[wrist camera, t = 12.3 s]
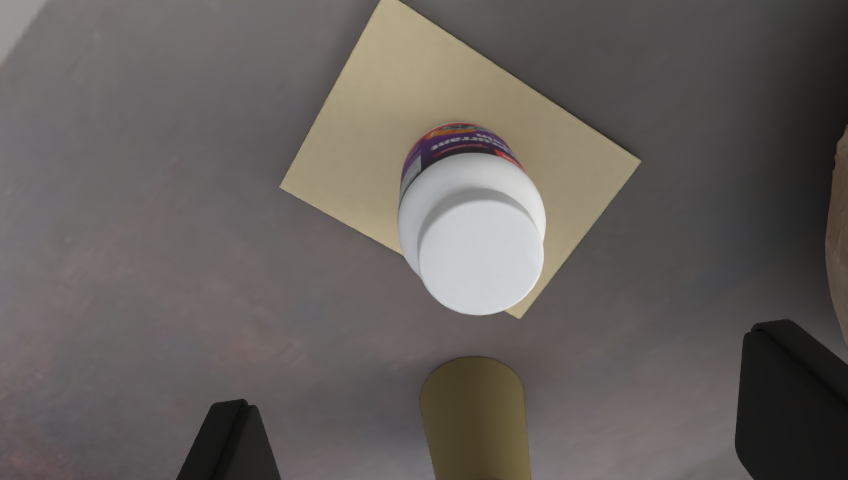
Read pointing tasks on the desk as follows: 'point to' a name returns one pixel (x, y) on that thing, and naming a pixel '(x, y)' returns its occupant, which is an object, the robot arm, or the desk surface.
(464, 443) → the olive game pawn
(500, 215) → the pill bottle
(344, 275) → the desk surface
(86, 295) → the desk surface
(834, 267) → the bowl
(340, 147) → the placemat
